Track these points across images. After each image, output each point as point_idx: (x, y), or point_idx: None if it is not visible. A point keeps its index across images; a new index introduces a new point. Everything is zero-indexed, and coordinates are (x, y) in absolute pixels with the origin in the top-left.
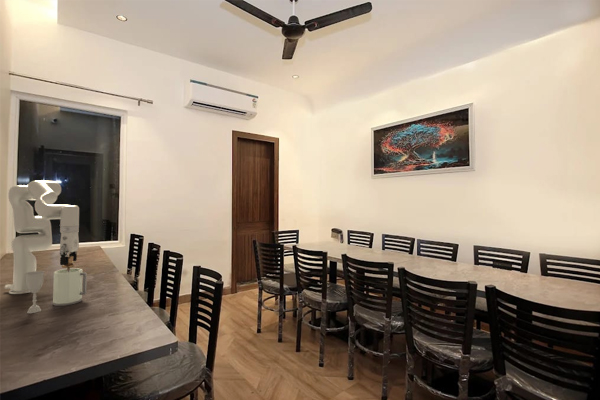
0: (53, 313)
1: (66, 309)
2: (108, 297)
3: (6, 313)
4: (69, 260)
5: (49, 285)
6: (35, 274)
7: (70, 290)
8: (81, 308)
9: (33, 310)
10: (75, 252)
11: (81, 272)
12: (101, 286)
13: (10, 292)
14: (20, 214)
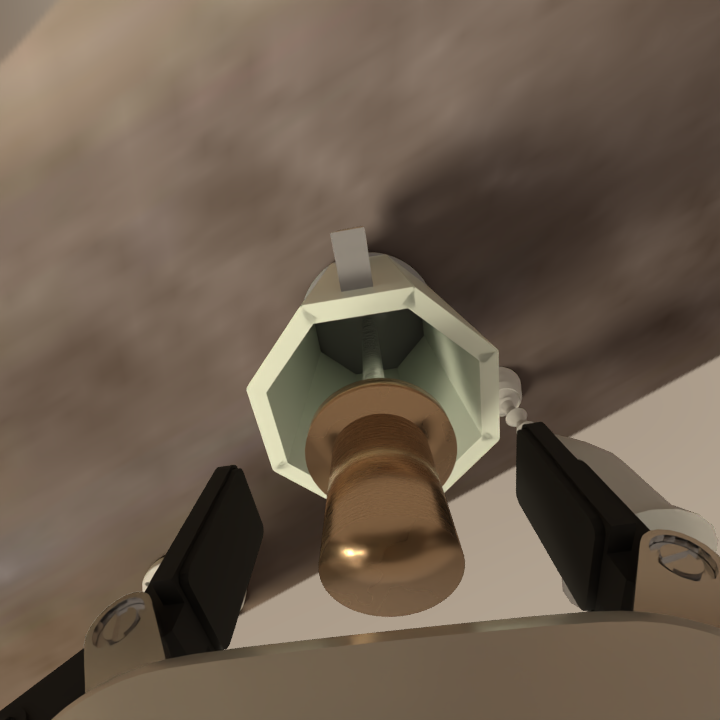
0: (554, 281)
1: (501, 250)
2: (281, 94)
3: (496, 474)
4: (434, 483)
5: (96, 554)
6: (707, 531)
7: (436, 295)
8: (503, 165)
9: (519, 386)
10: (158, 619)
11: (337, 292)
12: (39, 297)
13: (241, 608)
14: None
